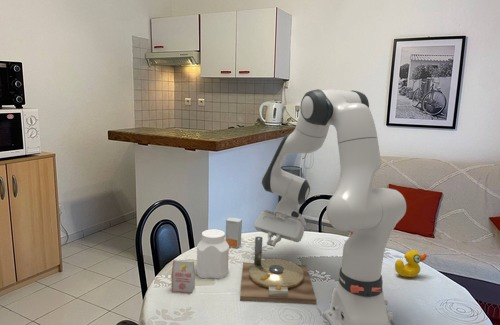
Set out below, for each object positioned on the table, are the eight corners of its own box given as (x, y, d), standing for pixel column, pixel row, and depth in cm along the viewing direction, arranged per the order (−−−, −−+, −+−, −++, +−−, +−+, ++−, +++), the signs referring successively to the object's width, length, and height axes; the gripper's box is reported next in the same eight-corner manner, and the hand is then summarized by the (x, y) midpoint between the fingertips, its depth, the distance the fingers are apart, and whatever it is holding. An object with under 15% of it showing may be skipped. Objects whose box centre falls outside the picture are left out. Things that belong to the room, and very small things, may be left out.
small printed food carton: (174, 286, 121) (175, 258, 120) (194, 287, 121) (195, 259, 119) (171, 291, 118) (171, 263, 116) (191, 293, 117) (192, 264, 115)
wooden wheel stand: (316, 304, 114) (317, 291, 113) (240, 300, 114) (240, 287, 113) (306, 269, 137) (306, 258, 137) (242, 266, 138) (243, 255, 137)
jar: (194, 278, 127) (195, 237, 125) (198, 265, 137) (199, 227, 134) (227, 279, 127) (228, 239, 125) (229, 267, 137) (230, 229, 134)
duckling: (419, 272, 138) (422, 247, 137) (427, 279, 133) (430, 253, 131) (391, 272, 137) (393, 248, 135) (398, 279, 132) (401, 254, 130)
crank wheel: (306, 291, 118) (309, 256, 116) (248, 288, 118) (249, 254, 116) (299, 265, 137) (301, 234, 135) (249, 262, 137) (250, 232, 135)
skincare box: (224, 246, 155) (225, 219, 153) (228, 242, 159) (229, 216, 157) (238, 248, 154) (239, 221, 152) (241, 245, 158) (242, 218, 156)
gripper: (260, 204, 147) (245, 234, 141) (305, 216, 136) (290, 248, 129) (266, 212, 152) (251, 241, 146) (310, 224, 140) (296, 256, 134)
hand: (270, 245), depth 137 cm, fingers closed
